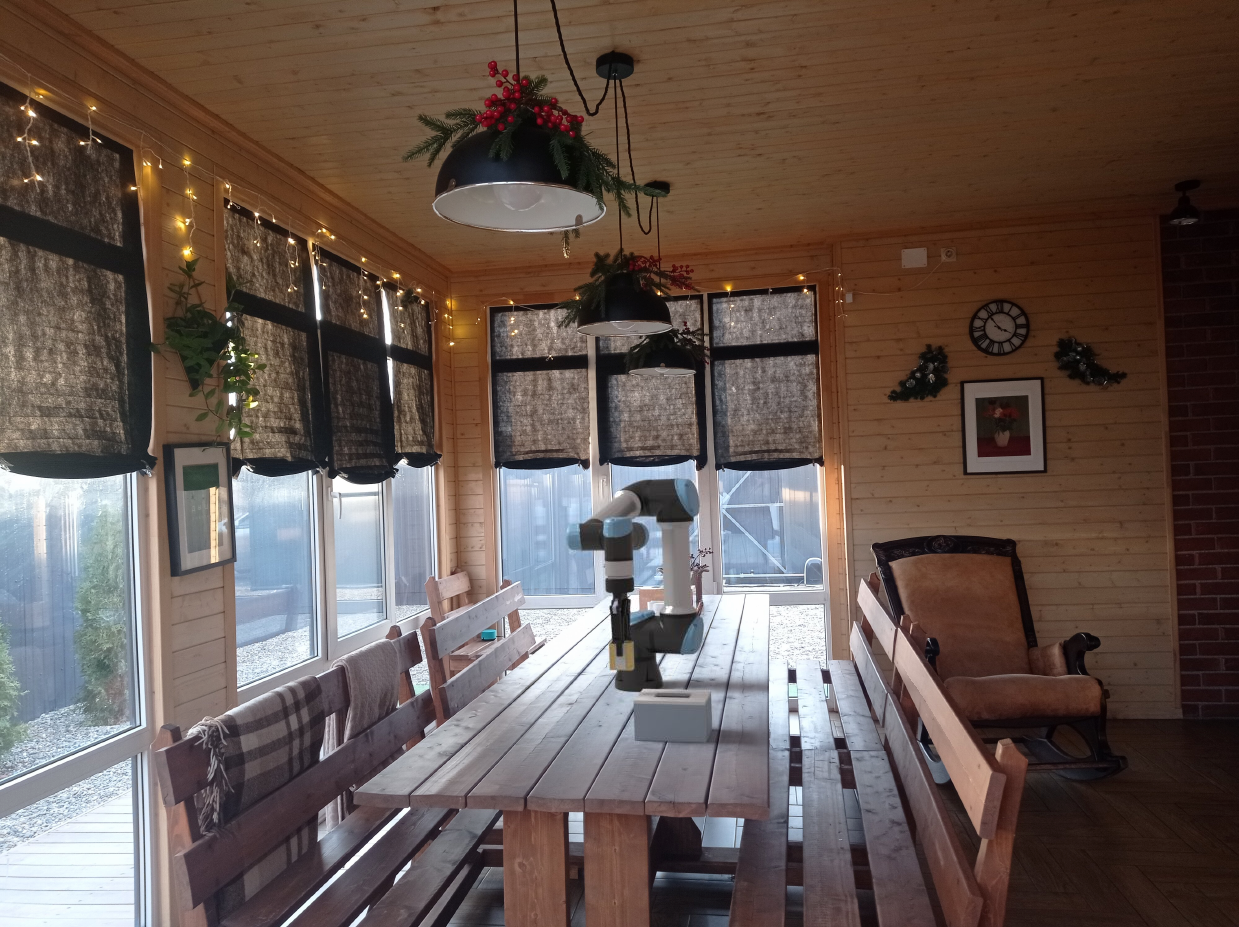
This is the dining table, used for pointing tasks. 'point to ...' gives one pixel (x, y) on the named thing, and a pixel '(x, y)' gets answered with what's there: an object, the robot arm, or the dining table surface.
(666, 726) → the coin box
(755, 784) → the dining table surface
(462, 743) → the dining table surface
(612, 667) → the gold metal bar
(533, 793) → the dining table surface
